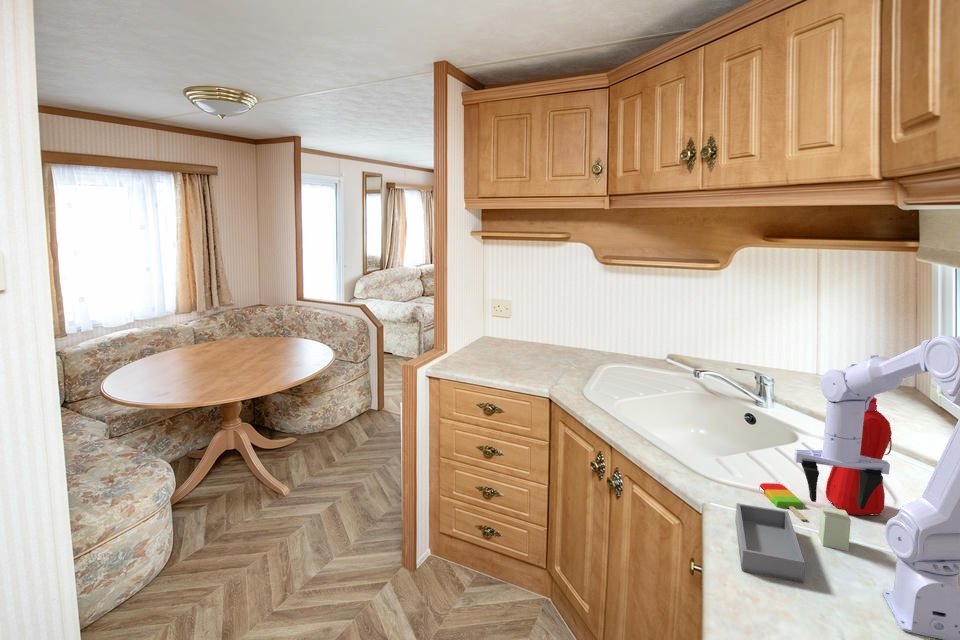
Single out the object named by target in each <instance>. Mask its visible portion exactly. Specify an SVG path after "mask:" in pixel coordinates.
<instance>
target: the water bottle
mask: <svg viewBox="0 0 960 640" xmlns="http://www.w3.org/2000/svg"><path fill="white" fill-rule="evenodd" d="M877 400H878V399H877V398H876V397H875V396H874V397H873V399H872V400H871V401H870V402H869V408H868V409H867V411H866V412H864V421H863V431H862V441H861V451H860V456H865V457H870V458H874V459H880V460H883V458H884V457H885V456H888V455H890V453H891V450H892V447H893V446H892V445H893V444H892V442H893V441H892V435H893V433H892V427H891V422H889V420H888V419H887V418H886V417H885V415H883V414H882V413H881V412H880V411H879V410H878V405H877ZM888 446H889V450H888V452H887V453H886V451H887V449H888ZM828 475H829V476H828V477H827V481H826V485H825V492H824V493H825V497H826V498H827V501H828V500H829V501H830V503H831V502H832V503H833V504H832V503H831V504H832V505H834V507H835V506H836V507H835V508H836V509H839V510H846V512H847V514H848V515H853V516H855V515H858V516H859V515H860V516H864V515H863V514H879V515H881V514H882V513H883V511H884V509H885V498H886V496H885V494H886V493H885V489H884V488H885V486H884V481H882V483H881V484H880V485H879V486H878V487H877V488H876V489H875V490H874V491H873V493H872V494H871V496H870V498H869V499H868V501H867V504H866V506H865V509H860V508H859V506H858V505H857V497H858V491H859V469H853V468H845V467H837V466H831V469H830V473H829V474H828ZM881 475H882V476H883V474H882V473H881ZM829 501H828V502H829ZM880 513H881V514H880Z"/></svg>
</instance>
